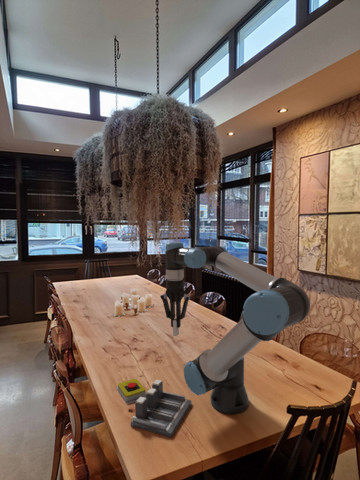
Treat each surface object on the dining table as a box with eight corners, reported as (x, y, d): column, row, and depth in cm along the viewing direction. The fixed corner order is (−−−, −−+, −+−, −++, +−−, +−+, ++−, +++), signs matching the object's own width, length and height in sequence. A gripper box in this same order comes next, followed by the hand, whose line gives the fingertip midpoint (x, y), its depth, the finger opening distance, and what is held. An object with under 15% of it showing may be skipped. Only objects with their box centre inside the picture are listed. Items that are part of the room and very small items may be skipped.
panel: (191, 404, 116) (191, 396, 116) (171, 437, 97) (171, 428, 97) (156, 395, 122) (156, 388, 122) (130, 425, 103) (130, 417, 103)
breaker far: (162, 396, 119) (162, 380, 118) (158, 400, 115) (158, 384, 115) (156, 394, 120) (156, 379, 120) (152, 399, 116) (152, 383, 116)
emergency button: (126, 395, 116) (115, 378, 129) (127, 405, 116) (115, 388, 129) (147, 388, 121) (134, 373, 133) (148, 398, 121) (134, 382, 134)
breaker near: (147, 415, 107) (147, 397, 106) (142, 421, 103) (142, 403, 103) (140, 413, 108) (140, 395, 108) (135, 419, 104) (135, 401, 104)
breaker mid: (157, 405, 112) (157, 389, 112) (153, 410, 109) (153, 393, 109) (150, 403, 113) (150, 387, 113) (146, 409, 110) (146, 392, 110)
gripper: (192, 278, 121) (193, 333, 122) (164, 277, 126) (165, 330, 126) (186, 281, 114) (187, 339, 115) (157, 280, 119) (158, 336, 119)
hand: (176, 334), depth 121 cm, fingers closed
